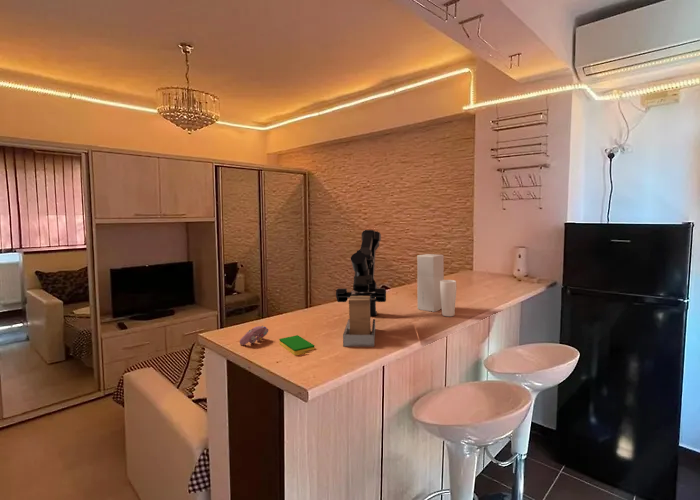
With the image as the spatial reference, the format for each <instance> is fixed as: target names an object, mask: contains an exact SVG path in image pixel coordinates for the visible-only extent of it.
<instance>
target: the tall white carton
mask: <svg viewBox="0 0 700 500" xmlns="http://www.w3.org/2000/svg"><path fill="white" fill-rule="evenodd" d="M416 257H417V258H416V259H417V261H416V262H417V263H416V265H417V268H416V269H417V272H416V273H417V275H416V276H417V277H416V279H417V282H416V283H417V284H416V285H417V287H416V288H417V294H416V295H417V310H418V311H420V310H421V311H426V312H431V311H432V313H435V312H438V311H440V309H441V310H442V306H441V295H440V281H441V280H445V278H444V277H445V276H444V272H445V271H444V270H445V269H444V265H445V263H444V260H445V259H444V254H435V253H434V254H433V253H425V254H424V253H423V254H419V255H416Z"/></svg>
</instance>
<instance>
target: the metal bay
mask: <svg viewBox="0 0 700 500" xmlns="http://www.w3.org/2000/svg"><path fill="white" fill-rule="evenodd" d="M371 327H372V328H371V335H369V334H350V324H349V318H348V319H347V322H346V324H345V328H344V331H343V334H342V347H345V348H346V347H348V348H349V347H350V348H351V347H353V348H354V347H359V348H361V347H362V348H363V347H367V348H370V347H371V348H374V347H375V339H376V318H373V319H372V325H371Z"/></svg>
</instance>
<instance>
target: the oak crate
mask: <svg viewBox="0 0 700 500" xmlns="http://www.w3.org/2000/svg"><path fill="white" fill-rule="evenodd" d="M348 316H349V317H348V319H349V324H350V333H349V334H369V335H372V328H371V327H372V325H371V316H370V296H350V298H348Z"/></svg>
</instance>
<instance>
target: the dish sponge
mask: <svg viewBox="0 0 700 500" xmlns="http://www.w3.org/2000/svg"><path fill="white" fill-rule="evenodd" d="M278 340H279V346H281V347H282V348H283V349H285V350H286V351H288V352H289V353H291V355H293V356H299V355H301V356H302V355H305V354H310V353H311V350H313V351H314V350H315V347H316V346H315V345H314V344H313V343H312V342H310V341H308V340H307V339H305V338H303V337H302V336H300V335H298V334H297V335H293V336H292V335H291V336H287V337H282V338H279V339H278Z"/></svg>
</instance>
